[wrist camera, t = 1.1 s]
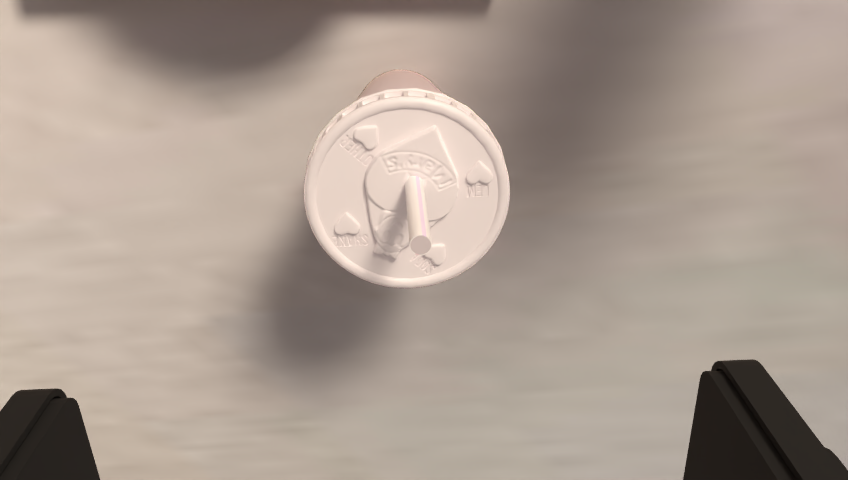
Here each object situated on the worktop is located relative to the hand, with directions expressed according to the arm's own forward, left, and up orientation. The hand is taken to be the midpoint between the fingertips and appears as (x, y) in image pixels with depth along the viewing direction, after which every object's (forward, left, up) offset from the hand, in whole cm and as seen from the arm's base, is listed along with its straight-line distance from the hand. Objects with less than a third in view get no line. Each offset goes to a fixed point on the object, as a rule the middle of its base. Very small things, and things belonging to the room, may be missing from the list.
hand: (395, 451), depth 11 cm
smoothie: (-1, -1, -22) cm, 22 cm away
